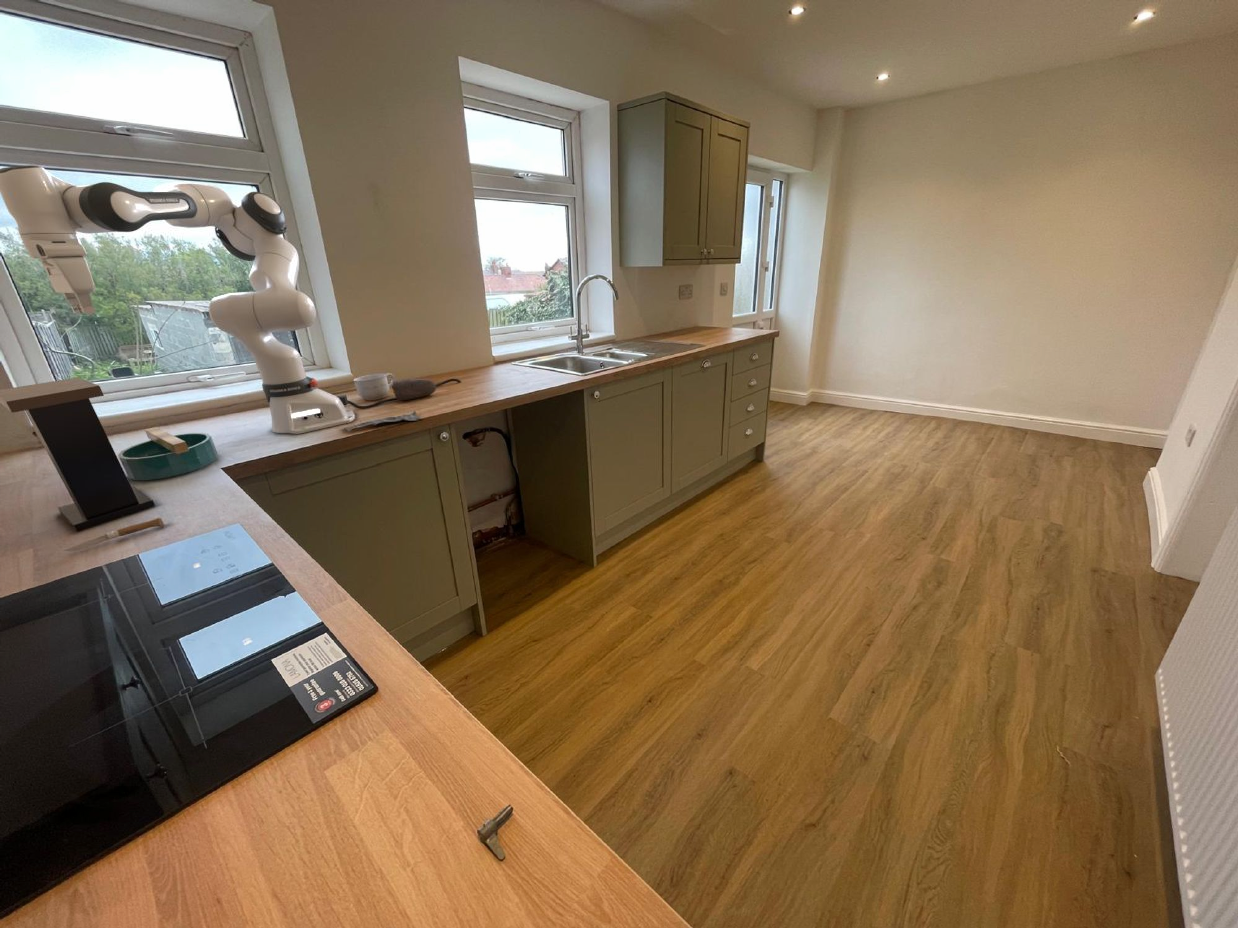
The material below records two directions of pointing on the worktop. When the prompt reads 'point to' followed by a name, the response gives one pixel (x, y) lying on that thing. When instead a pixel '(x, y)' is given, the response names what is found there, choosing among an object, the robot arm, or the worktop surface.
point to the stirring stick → (167, 440)
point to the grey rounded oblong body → (413, 388)
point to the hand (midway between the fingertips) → (84, 313)
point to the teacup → (373, 386)
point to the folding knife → (118, 534)
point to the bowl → (167, 457)
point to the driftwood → (387, 420)
